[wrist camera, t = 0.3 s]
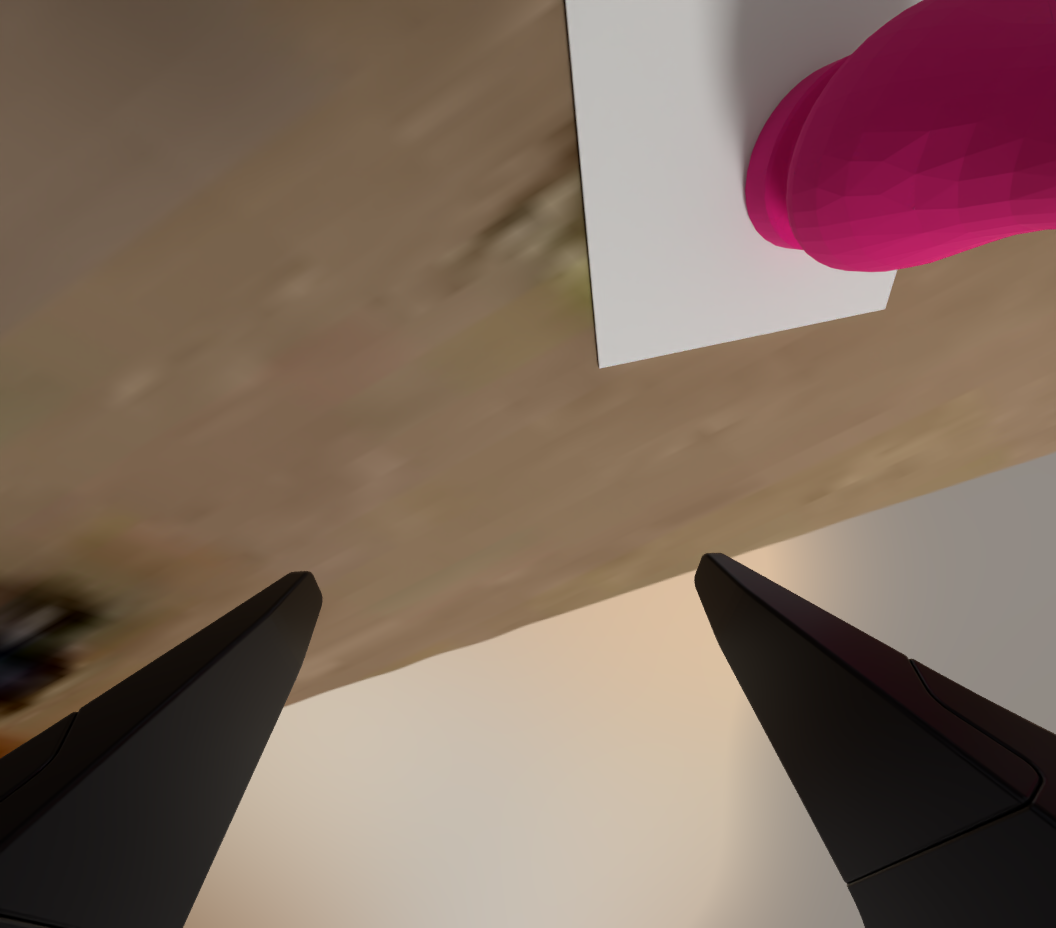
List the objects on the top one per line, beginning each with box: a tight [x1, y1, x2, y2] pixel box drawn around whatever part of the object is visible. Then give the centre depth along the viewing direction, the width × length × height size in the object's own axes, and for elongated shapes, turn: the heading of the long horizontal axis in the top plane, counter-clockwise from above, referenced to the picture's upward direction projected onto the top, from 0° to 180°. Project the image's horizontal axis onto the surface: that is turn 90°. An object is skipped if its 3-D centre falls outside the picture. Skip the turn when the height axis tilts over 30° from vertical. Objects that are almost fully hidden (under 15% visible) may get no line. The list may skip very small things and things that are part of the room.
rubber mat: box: [565, 0, 923, 368], centre depth 15 cm, size 20×15×1 cm
